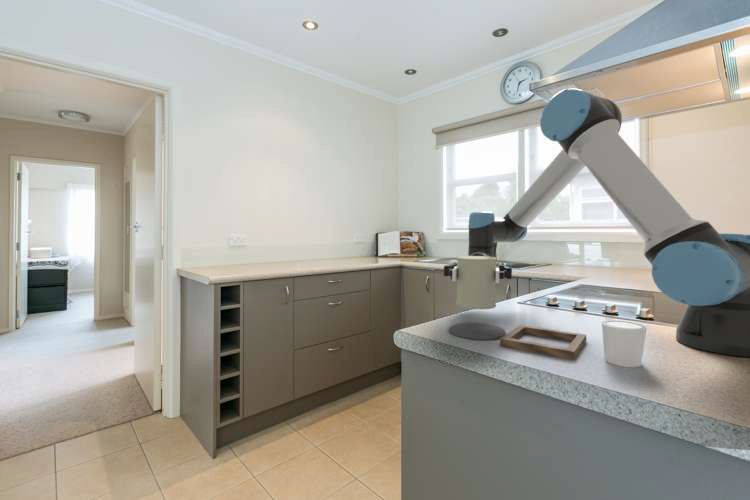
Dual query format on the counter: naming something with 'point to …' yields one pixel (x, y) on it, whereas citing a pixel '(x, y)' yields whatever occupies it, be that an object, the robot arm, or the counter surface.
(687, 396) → the counter surface
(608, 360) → the shot glass
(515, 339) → the pocket
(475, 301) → the can
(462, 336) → the mat
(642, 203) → the robot arm
